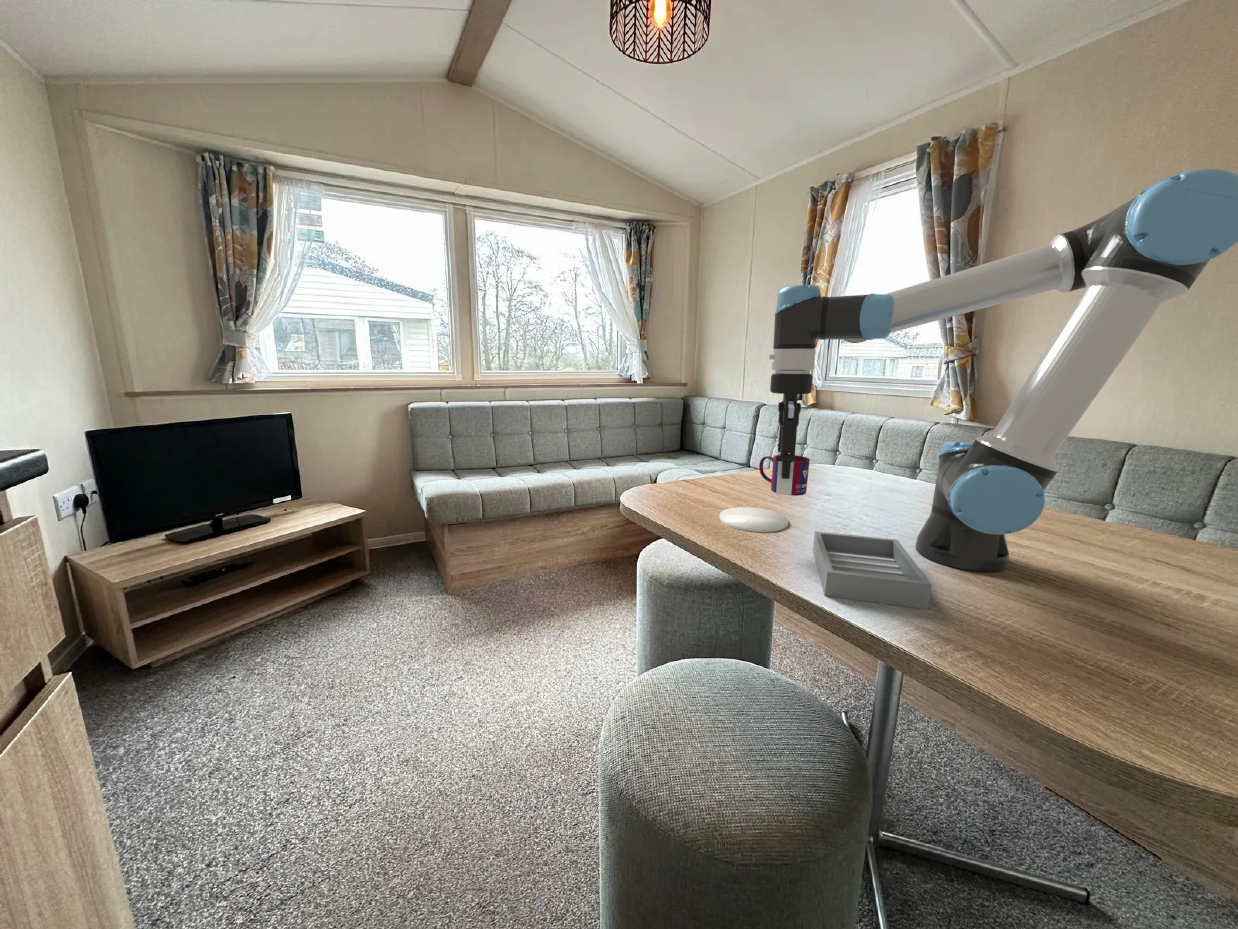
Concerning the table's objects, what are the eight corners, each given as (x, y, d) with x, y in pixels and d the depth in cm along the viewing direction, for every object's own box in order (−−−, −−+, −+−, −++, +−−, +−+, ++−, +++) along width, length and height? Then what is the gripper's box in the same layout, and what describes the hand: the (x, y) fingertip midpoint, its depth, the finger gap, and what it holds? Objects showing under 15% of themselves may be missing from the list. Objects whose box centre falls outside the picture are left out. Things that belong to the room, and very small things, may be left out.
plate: (786, 515, 122) (786, 510, 122) (789, 537, 107) (790, 531, 107) (721, 509, 126) (722, 504, 126) (716, 529, 111) (716, 524, 111)
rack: (894, 559, 94) (897, 539, 93) (927, 609, 75) (931, 584, 75) (812, 550, 98) (814, 531, 97) (824, 595, 80) (827, 571, 79)
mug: (793, 497, 92) (796, 462, 90) (750, 486, 99) (753, 454, 98) (813, 492, 95) (816, 458, 94) (770, 482, 103) (773, 450, 102)
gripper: (770, 371, 102) (763, 476, 107) (772, 373, 83) (763, 501, 88) (808, 371, 100) (799, 479, 105) (819, 373, 81) (807, 504, 86)
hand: (782, 489), depth 96 cm, fingers closed on mug, 7 cm apart
